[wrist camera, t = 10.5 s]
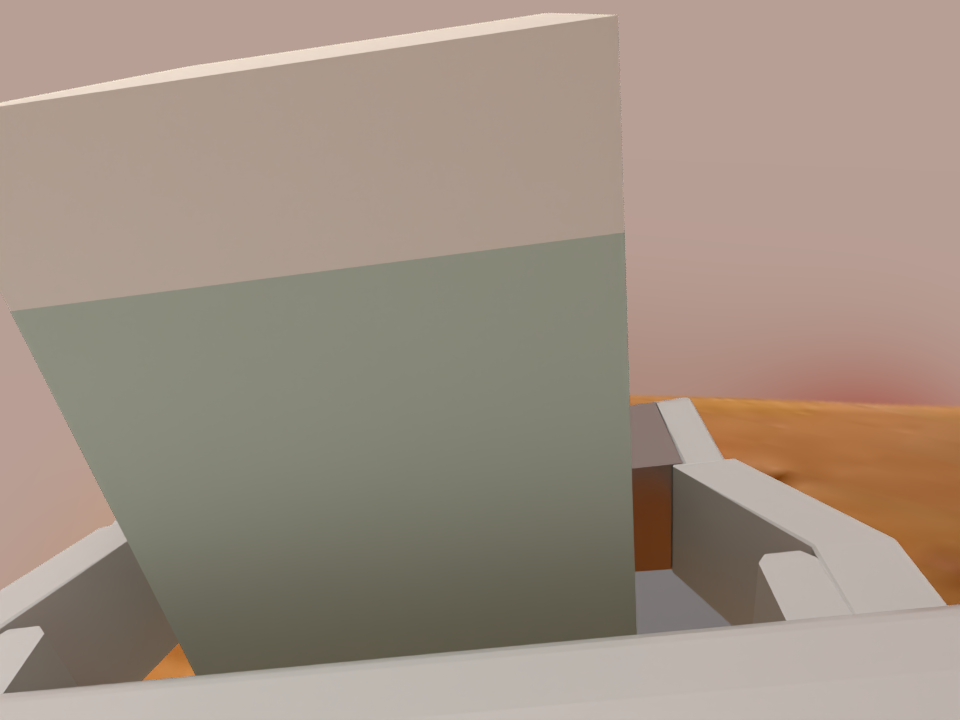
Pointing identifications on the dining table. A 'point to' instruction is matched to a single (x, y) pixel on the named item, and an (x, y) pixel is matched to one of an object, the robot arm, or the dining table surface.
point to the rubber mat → (670, 605)
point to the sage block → (345, 336)
